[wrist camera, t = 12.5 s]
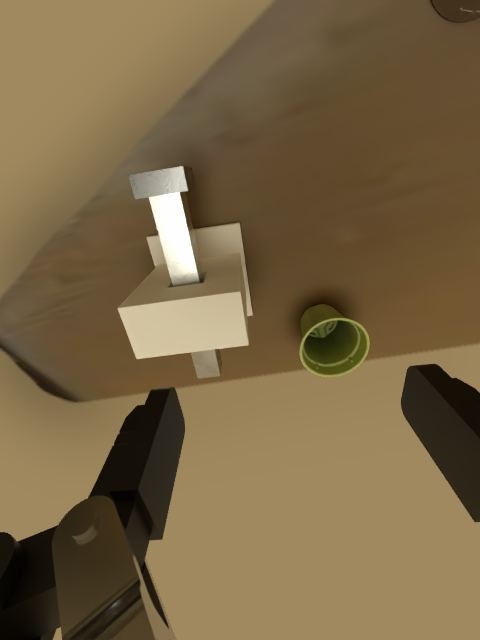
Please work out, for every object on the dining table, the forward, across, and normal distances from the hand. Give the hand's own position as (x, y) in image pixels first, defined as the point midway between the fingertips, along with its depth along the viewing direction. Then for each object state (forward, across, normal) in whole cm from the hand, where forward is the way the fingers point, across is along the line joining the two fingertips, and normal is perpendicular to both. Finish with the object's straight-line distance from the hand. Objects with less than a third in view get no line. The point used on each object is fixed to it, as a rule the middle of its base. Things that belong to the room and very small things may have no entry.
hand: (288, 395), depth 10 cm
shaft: (+25, +8, +4) cm, 27 cm away
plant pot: (+33, -9, +16) cm, 38 cm away
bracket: (+33, +8, +6) cm, 34 cm away
